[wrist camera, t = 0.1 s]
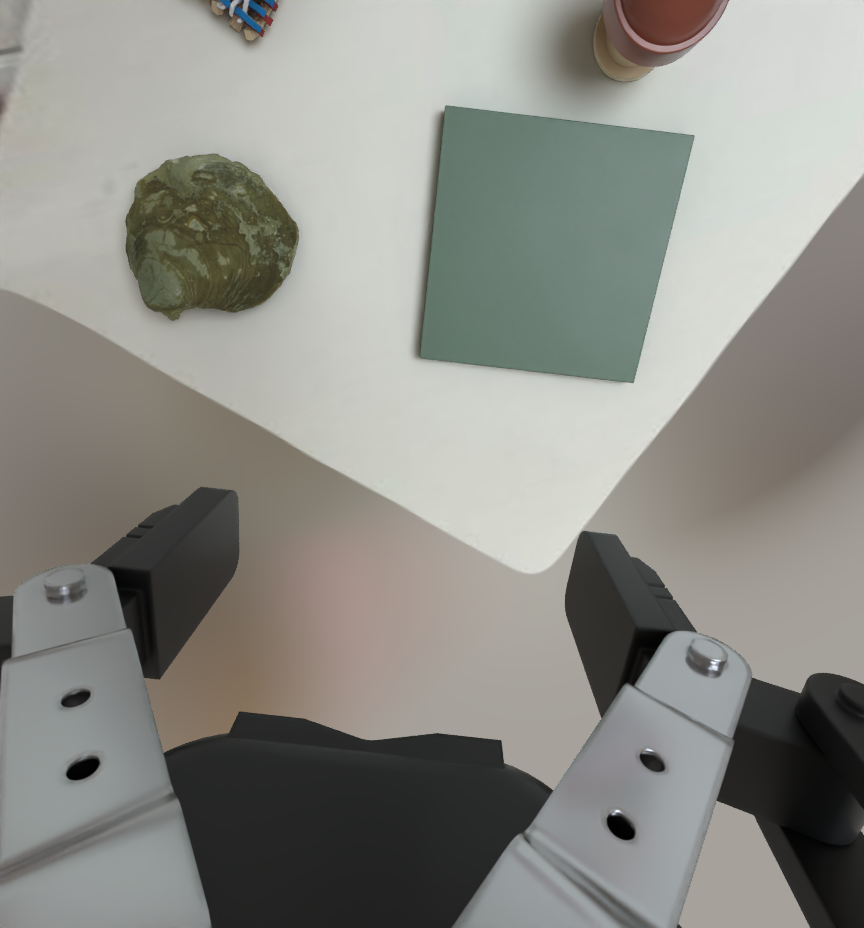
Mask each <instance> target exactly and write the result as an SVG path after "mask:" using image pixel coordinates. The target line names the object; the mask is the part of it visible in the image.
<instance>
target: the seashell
mask: <svg viewBox="0 0 864 928" xmlns="http://www.w3.org/2000/svg"><path fill="white" fill-rule="evenodd" d="M126 227H127V238H126V253H127V256H128V262H129V265H130V268H131V270H132V271H133V273H134V276H135V278H136V279H137V280H138V284H139V288H140V292H141V296H142V299H143V301H144V303H145V305H146V306H147V307H148V308H150V309H151V310H153V311H156V312H162V313H163V314H164V315H166V316H167V317H168V318H169V319H170V320H171V321H174V320H176V319H178V318H179V316H180V313H181V312H182V311H183V310H187V309H191V308H195V307H199V308H214V309H220V310H223V311H228V312H238V311H241V310H245V309H248V308H252V307H255V306H257V305H260V304H262V303H263V302H264V301H266V300H267V299H268V298H270V297H271V295H272V294H273V293H274V292H275V291H276V290H277V288H278V287H280V286H281V284H282V282H283V280H284V279H285V277H286V276H287V275H288V274H289V273H290V269H291V266H292V262H293V259H294V256H295V253H296V248H297V245H298V240H299V234H298V232H299V230H298V227H297V224H296V222H295V221H293V220H292V219H291V217H290V215H289V214H288V212H287V211H286V210H285V208H284V207H283V205H282V204H281V202H280V201H279V200H278V199H277V198H276V196H275V195H274V194H273V193H272V192H271V190H270V189H269V188H268V187H267V186H266V185H265V183H264V182H263V180H262V179H261V177H260V176H259V175H257V174H255V173H253V172H251V171H250V170H249V169H248V168H247V167H246V166H244V165H243V164H241V163H240V162H232V161H230V160H228V159H226V158H224V157H221V156H219V155H218V154H208V155H197V156H192V157H188V156H185V157H181V158H178V159H174V160H167V161H165V163H164V164H162V165H161V166H160V167H159V168H158V169H157V170H155V171H153V172H151V173H149V174H148V175H146V176H145V177H144V178H143V179H141V180H139V182H138V183H137V186H136V188H135V199H134V202H133V204H132V206H131V208H130V210H129V213H128V214H127V216H126Z"/></svg>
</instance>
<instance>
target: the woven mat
mask: <svg viewBox="0 0 864 928" xmlns="http://www.w3.org/2000/svg"><path fill="white" fill-rule="evenodd" d="M207 1H208V2H210V0H207ZM276 1H277V0H262V2H261V4H260V6H259V5H258V4H257V3H255V2H254V1H253V0H234V1H233V2H231V1H230V0H212V4H211V9H212V11H213V12H214V13H215V14H216V15H223V12H224V9H225V8H226V9H227V10H229V15H230V16H231V19H230V22H229V24H230V25H231V26H232V27H233V28H234V29H236V30H237V31H238V32H239V31H240V29H241V27H242V25H243V23H245V24H247V25H248V26H247V27H246V28H245V29H244V33H245V37H246V40H254V39H255V38H257V37H258V36H259V35H260V36H262V37H263V34H264V32H265V31H264V30H263V27H264V25H265V23H267V24H268V25H269V26H271V24H272V22H273V19H271V18H270V17H269V15H270V13H271V11H272V10H274V11H275V12H276V10H277V7H278V5H277V4H276ZM249 9H251V10H252V11H253V12H254V13H256V15H255V17H254V19H252V18H251V17H250V16H249V15H247V14H248V12H249Z"/></svg>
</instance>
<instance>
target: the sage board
mask: <svg viewBox="0 0 864 928" xmlns="http://www.w3.org/2000/svg"><path fill="white" fill-rule="evenodd" d="M693 140H694V135H686V134H678V133H670V132H661V131H653V130H645V129H636V128H628V127H620V126H612V125H603V124H595V123H587V122H579V121H570V120H562V119H554V118H546V117H537V116H529V115H521V114H512V113H504V112H496V111H488V110H479V109H471V108H463V107H455V106H445V114H444V124H443V133H442V143H441V153H440V163H439V173H438V183H437V192H436V202H435V212H434V222H433V232H432V242H431V251H430V261H429V271H428V281H427V291H426V301H425V310H424V320H423V330H422V340H421V350H420V358H423V359H432V360H440V361H449V362H458V363H466V364H475V365H483V366H492V367H501V368H509V369H518V370H526V371H535V372H543V373H552V374H561V375H569V376H578V377H586V378H595V379H604V380H612V381H621V382H629V383H634V379H635V375H636V371H637V367H638V363H639V359H640V355H641V351H642V347H643V343H644V339H645V335H646V331H647V327H648V323H649V319H650V315H651V311H652V306H653V302H654V298H655V294H656V290H657V286H658V282H659V278H660V274H661V270H662V266H663V262H664V258H665V254H666V250H667V246H668V242H669V238H670V234H671V229H672V225H673V221H674V217H675V213H676V209H677V205H678V201H679V197H680V193H681V189H682V185H683V181H684V177H685V173H686V169H687V165H688V161H689V156H690V152H691V148H692V144H693Z"/></svg>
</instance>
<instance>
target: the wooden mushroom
mask: <svg viewBox="0 0 864 928" xmlns="http://www.w3.org/2000/svg"><path fill="white" fill-rule="evenodd" d="M728 1H729V0H603V12H602V13H601V15H600V17H599V19H598V21H597V24H596V27H595V31H594V36H593V50H594V55H595V58H596V61H597V63H598V65H599V67H600V68H601V70H602V71H603V72H604V73H605V74H606V75H607V76H608V77H610V78H612V79H614V80H616V81H621V82H630V81H635V80H638V79H640V78H642V77H644V76H645V75H647V74H648V73H649V72H650V71H651V70H652V69H653V68H654V67H658V66H663V65H667V64H669V63H672V62H674V61H676V60H677V59H679V58H681V57H682V56H684V55H685V54H686V53H688V52H689V51H690V50H691V49H692V48H693V47H694V46H695V45H696V44H697V43H698V42H700V41H701V40H702V39H703V38H704V37H705V36H706V35H707V34H708V33H709V32H710V31H711V30H712V29H713V27H714V26H715V25H716V23H717V22H718V21H719V19H720V18H721V16H722V14H723V12H724V10H725V8H726V6H727V4H728Z"/></svg>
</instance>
